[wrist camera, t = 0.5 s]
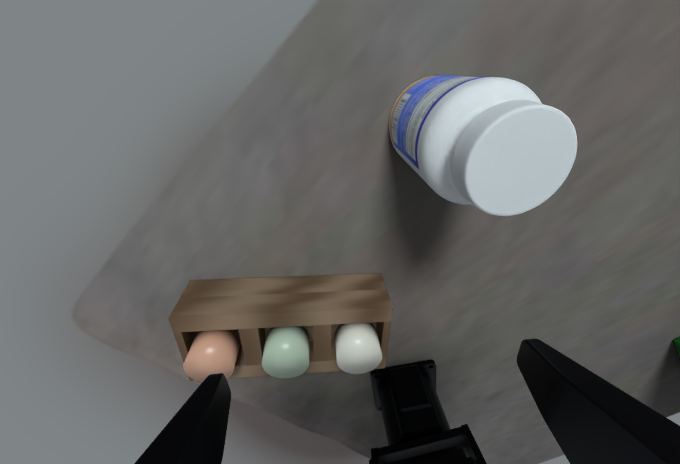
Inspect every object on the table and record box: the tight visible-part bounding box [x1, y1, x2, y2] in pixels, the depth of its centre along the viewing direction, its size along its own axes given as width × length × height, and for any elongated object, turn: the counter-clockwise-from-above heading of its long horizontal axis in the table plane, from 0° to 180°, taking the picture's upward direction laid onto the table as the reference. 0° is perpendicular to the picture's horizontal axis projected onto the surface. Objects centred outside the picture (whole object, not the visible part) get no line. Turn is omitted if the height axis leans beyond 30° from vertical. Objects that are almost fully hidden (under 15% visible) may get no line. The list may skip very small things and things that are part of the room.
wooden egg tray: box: [168, 273, 393, 381], centre depth 23 cm, size 15×6×4 cm, turn 89°
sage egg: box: [262, 326, 309, 379], centre depth 21 cm, size 3×3×2 cm
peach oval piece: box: [183, 330, 240, 382], centre depth 21 cm, size 3×3×2 cm
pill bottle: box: [389, 75, 577, 216], centre depth 15 cm, size 5×5×10 cm
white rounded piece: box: [335, 323, 382, 374], centre depth 22 cm, size 3×3×2 cm
